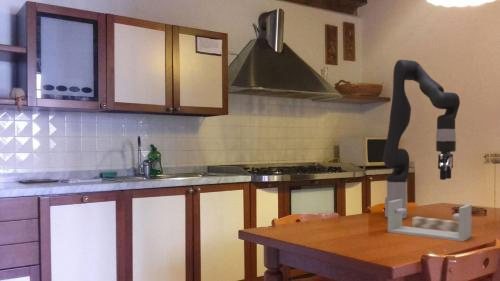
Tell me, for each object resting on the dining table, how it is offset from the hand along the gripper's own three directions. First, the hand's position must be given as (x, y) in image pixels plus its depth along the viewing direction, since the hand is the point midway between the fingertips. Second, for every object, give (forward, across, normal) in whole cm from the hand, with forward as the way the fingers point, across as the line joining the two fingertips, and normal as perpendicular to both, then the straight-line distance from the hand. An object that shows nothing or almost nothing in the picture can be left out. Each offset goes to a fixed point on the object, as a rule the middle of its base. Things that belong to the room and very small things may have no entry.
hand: (445, 179), depth 196 cm
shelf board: (+21, +2, -1) cm, 21 cm away
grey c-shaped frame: (+21, +18, -2) cm, 27 cm away
